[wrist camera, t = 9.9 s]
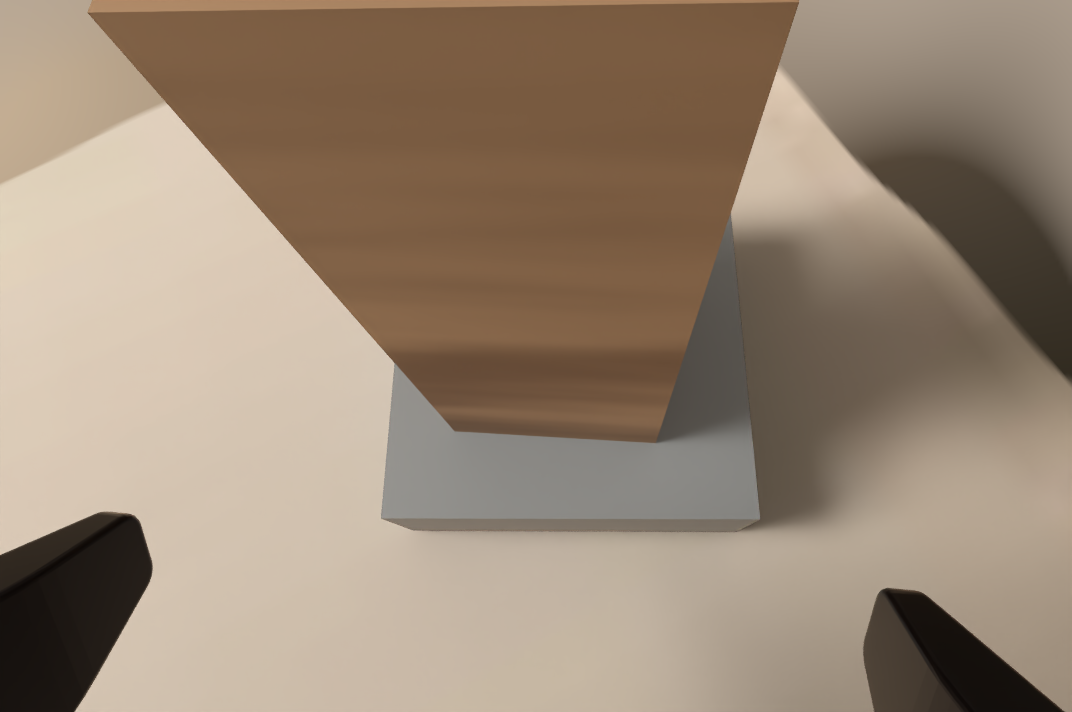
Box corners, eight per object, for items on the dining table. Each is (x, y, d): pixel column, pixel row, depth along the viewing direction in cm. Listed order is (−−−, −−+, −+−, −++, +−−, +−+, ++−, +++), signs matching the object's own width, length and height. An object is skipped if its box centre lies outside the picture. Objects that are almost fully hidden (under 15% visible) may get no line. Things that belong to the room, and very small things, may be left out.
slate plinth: (736, 531, 19) (760, 519, 16) (413, 530, 19) (380, 518, 17) (711, 240, 22) (727, 186, 19) (433, 249, 22) (409, 199, 20)
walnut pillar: (655, 443, 17) (798, 2, 4) (455, 431, 17) (89, 13, 5) (660, 259, 18) (772, -430, 6) (476, 254, 19) (241, -385, 7)
